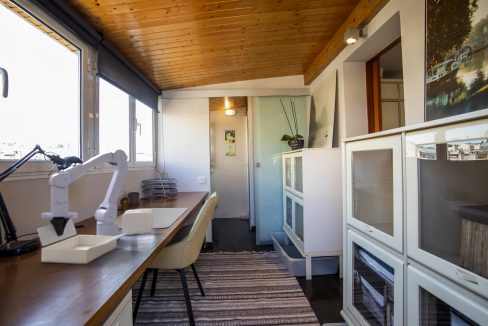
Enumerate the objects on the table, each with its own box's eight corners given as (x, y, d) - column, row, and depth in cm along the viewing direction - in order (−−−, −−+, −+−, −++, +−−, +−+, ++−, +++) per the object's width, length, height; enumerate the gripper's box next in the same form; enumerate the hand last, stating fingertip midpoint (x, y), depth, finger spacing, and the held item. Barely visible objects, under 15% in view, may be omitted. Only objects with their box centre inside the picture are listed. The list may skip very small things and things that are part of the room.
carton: (78, 246, 110) (78, 234, 110) (116, 247, 108) (116, 236, 108) (41, 261, 92) (41, 248, 92) (86, 263, 90) (86, 250, 90)
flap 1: (37, 228, 93) (36, 228, 93) (43, 246, 93) (42, 246, 93) (71, 218, 109) (71, 219, 110) (76, 234, 109) (76, 234, 109)
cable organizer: (120, 235, 126) (120, 213, 126) (124, 230, 137) (124, 209, 137) (151, 233, 130) (151, 211, 130) (153, 228, 140) (153, 208, 141)
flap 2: (130, 231, 107) (131, 232, 107) (115, 235, 107) (116, 236, 107) (106, 243, 90) (106, 244, 90) (88, 248, 91) (88, 249, 91)
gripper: (34, 203, 98) (34, 238, 98) (68, 204, 97) (68, 238, 96) (49, 201, 105) (50, 233, 105) (81, 201, 104) (81, 233, 103)
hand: (59, 235), depth 101 cm, fingers closed, pressing on flap 1
